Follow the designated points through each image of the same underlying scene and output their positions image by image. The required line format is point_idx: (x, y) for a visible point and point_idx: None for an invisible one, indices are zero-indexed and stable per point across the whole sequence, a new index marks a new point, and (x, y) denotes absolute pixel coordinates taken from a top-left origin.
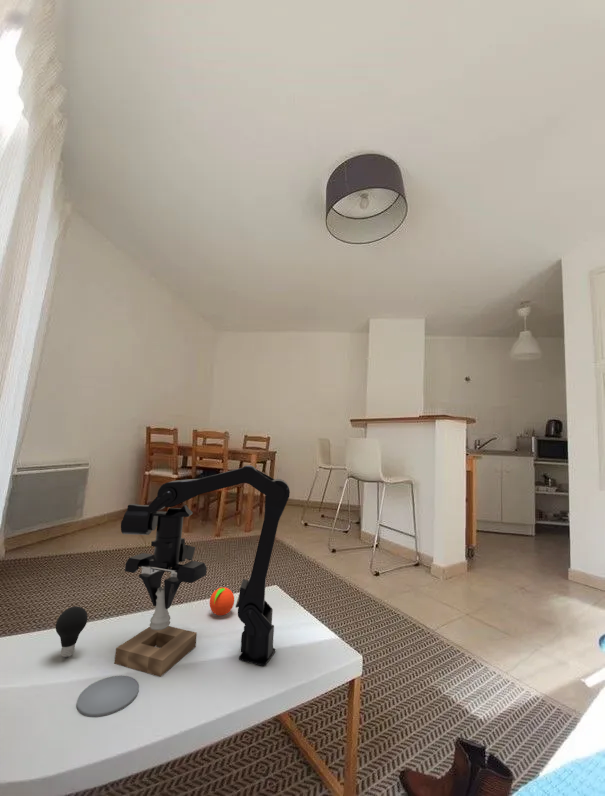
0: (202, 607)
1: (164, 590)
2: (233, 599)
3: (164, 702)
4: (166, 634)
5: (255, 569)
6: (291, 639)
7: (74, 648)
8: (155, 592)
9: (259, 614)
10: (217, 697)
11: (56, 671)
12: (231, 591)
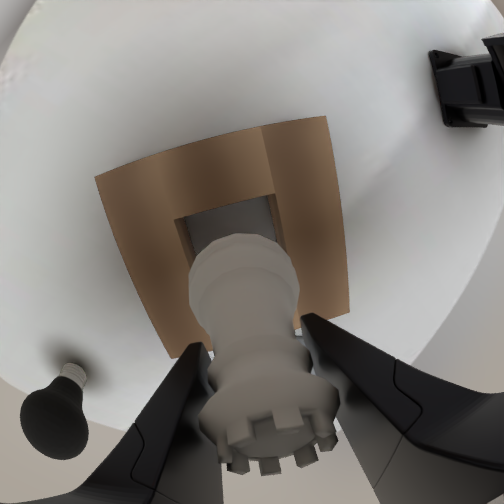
0: None
1: (366, 474)
2: None
3: (390, 322)
4: (224, 204)
5: None
6: (459, 7)
7: (75, 371)
8: (209, 443)
9: None
10: (457, 253)
11: (120, 394)
12: None
